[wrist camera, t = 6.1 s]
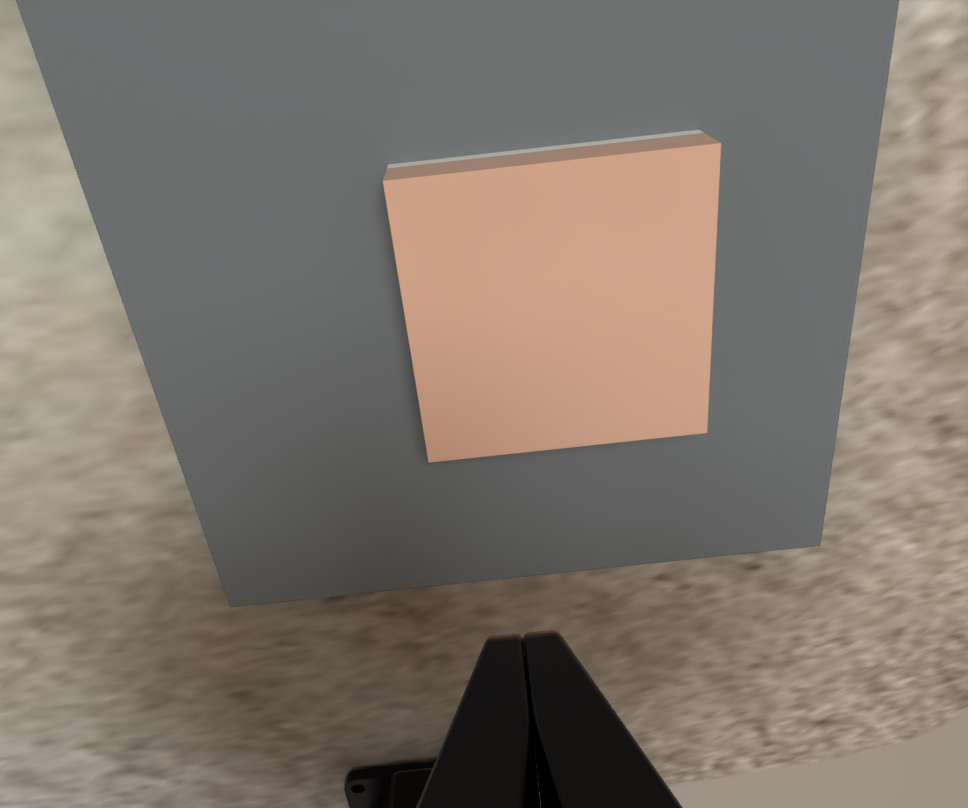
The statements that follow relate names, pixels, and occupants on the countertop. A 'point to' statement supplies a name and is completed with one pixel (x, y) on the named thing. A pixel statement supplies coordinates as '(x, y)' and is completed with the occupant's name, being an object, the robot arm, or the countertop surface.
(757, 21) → the mat
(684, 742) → the countertop surface
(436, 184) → the tile
